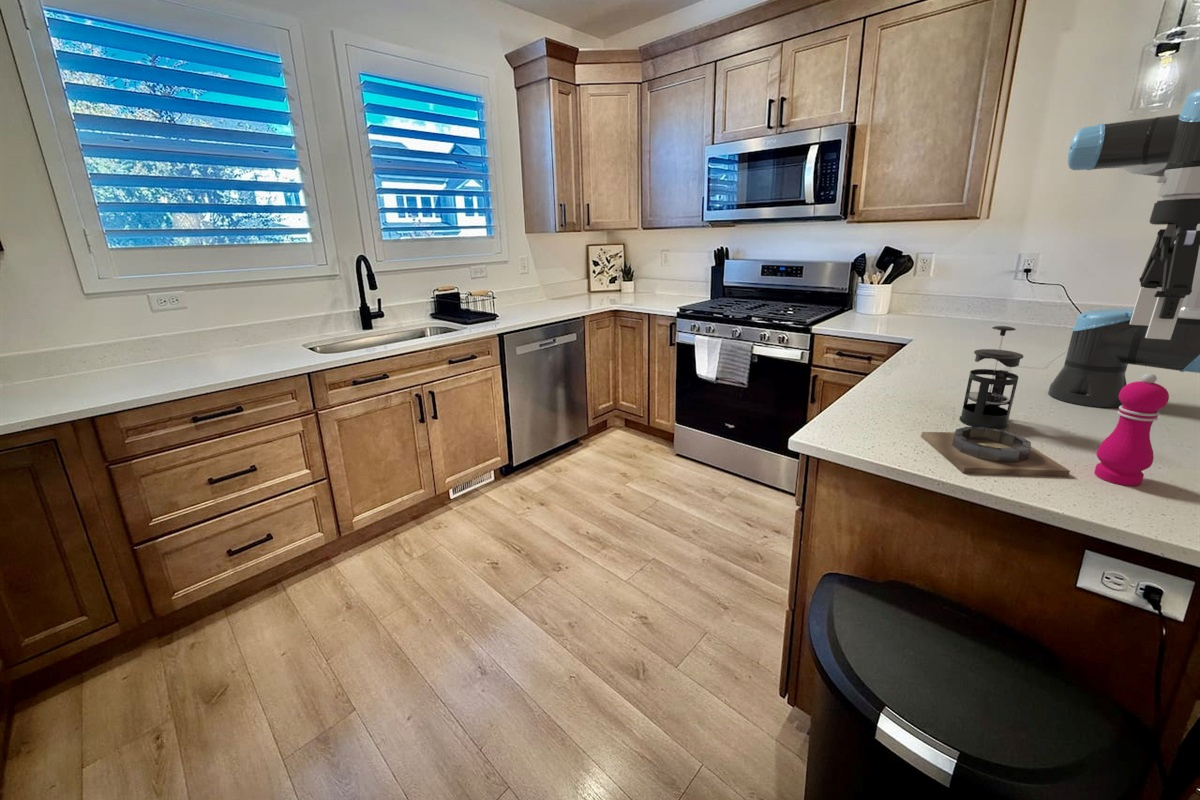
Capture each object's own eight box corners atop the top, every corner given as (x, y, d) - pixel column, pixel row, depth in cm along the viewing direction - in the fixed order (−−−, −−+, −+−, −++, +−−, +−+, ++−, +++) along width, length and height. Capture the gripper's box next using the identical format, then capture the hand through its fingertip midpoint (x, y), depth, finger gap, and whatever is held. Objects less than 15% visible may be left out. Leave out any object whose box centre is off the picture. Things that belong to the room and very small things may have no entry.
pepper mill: (1079, 470, 97) (1109, 369, 91) (1114, 468, 98) (1146, 367, 91) (1119, 488, 90) (1154, 380, 84) (1156, 486, 91) (1194, 378, 84)
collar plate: (1009, 438, 112) (1010, 433, 112) (1068, 476, 95) (1070, 470, 95) (921, 436, 115) (922, 431, 114) (963, 473, 98) (964, 467, 97)
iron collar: (1004, 438, 109) (1007, 427, 109) (1043, 463, 98) (1046, 451, 97) (941, 436, 111) (943, 426, 110) (972, 461, 100) (974, 450, 99)
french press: (997, 434, 115) (1021, 333, 107) (951, 422, 122) (970, 327, 114) (1017, 421, 121) (1040, 325, 114) (971, 411, 128) (990, 320, 121)
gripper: (1140, 200, 92) (1106, 318, 98) (1176, 196, 73) (1131, 342, 80) (1202, 198, 87) (1162, 321, 94) (1257, 193, 69) (1202, 347, 75)
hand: (1148, 331), depth 87 cm, fingers open, 13 cm apart
